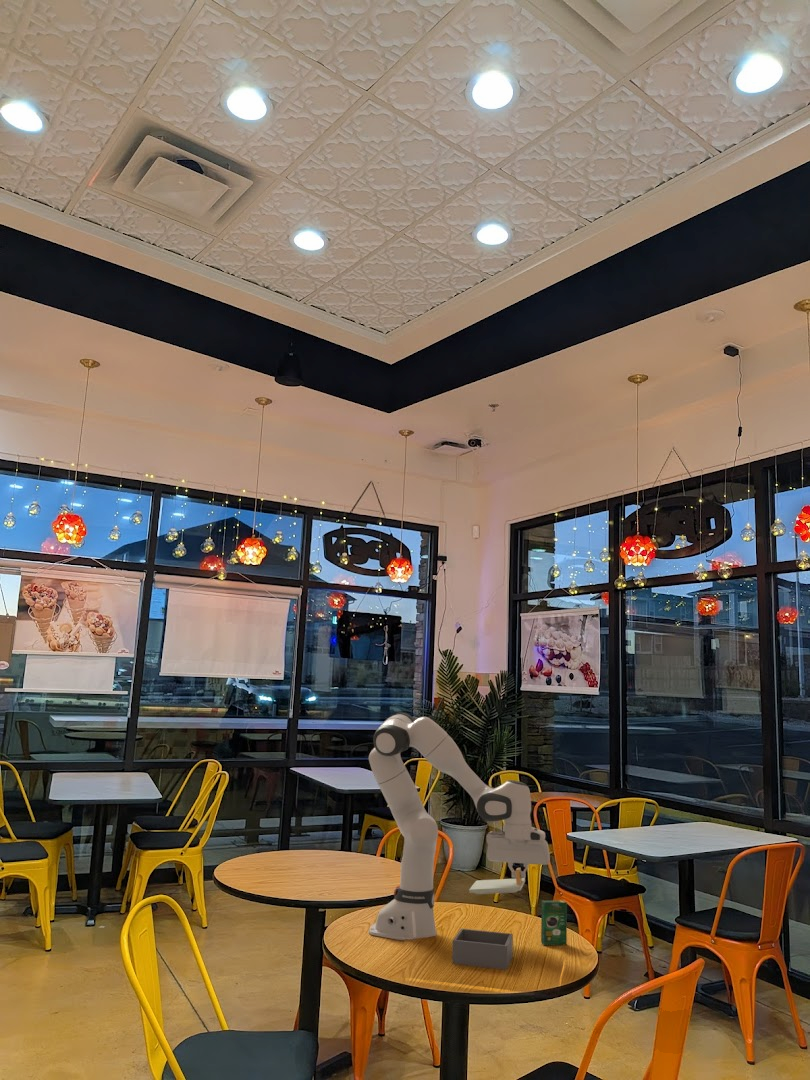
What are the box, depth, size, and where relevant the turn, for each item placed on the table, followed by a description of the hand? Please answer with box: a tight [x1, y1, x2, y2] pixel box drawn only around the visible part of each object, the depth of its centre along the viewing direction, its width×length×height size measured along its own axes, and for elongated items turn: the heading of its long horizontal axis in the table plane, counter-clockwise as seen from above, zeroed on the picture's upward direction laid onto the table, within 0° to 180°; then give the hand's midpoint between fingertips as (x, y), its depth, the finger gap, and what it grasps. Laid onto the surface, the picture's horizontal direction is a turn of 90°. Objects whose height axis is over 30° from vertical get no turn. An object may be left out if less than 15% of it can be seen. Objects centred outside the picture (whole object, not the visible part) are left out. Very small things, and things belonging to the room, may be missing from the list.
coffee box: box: [540, 900, 568, 946], centre depth 250 cm, size 8×3×13 cm, turn 102°
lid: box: [468, 867, 526, 895], centre depth 251 cm, size 16×13×6 cm
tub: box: [451, 928, 514, 971], centre depth 230 cm, size 16×13×7 cm
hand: (518, 877), depth 250 cm, fingers closed on lid
